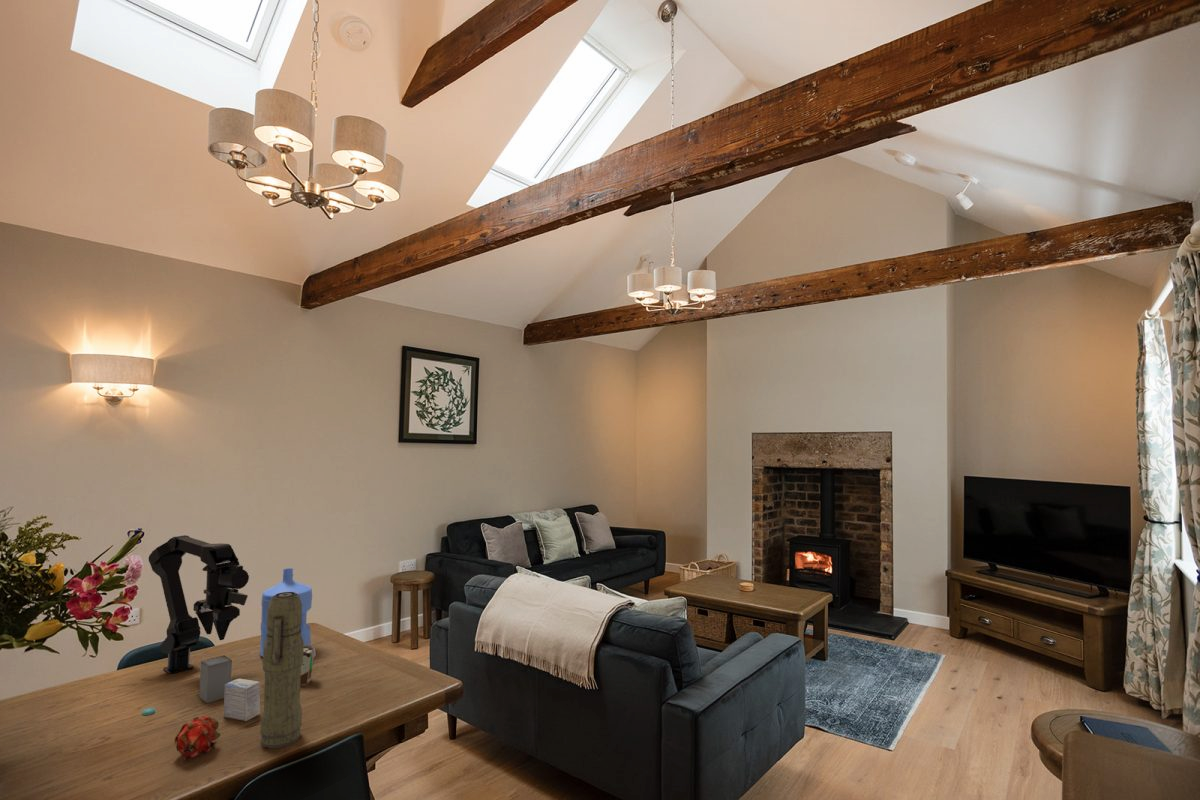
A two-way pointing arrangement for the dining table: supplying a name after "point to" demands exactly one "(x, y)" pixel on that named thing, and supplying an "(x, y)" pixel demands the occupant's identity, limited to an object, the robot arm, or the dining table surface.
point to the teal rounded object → (148, 711)
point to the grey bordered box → (214, 678)
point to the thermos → (282, 672)
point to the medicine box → (242, 699)
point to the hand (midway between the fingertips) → (215, 637)
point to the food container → (307, 663)
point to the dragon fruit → (197, 736)
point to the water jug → (287, 586)
